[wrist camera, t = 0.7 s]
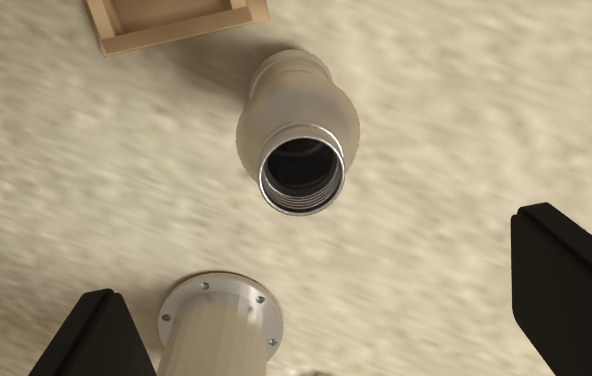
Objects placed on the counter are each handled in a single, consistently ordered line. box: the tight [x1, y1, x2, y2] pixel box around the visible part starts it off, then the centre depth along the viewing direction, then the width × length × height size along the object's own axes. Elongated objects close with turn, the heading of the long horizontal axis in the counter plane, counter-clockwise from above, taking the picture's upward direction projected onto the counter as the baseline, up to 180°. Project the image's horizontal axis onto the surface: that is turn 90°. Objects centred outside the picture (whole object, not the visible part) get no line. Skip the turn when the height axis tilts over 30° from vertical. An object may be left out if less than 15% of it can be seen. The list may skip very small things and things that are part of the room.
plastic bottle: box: [236, 49, 360, 216], centre depth 27 cm, size 6×7×20 cm
